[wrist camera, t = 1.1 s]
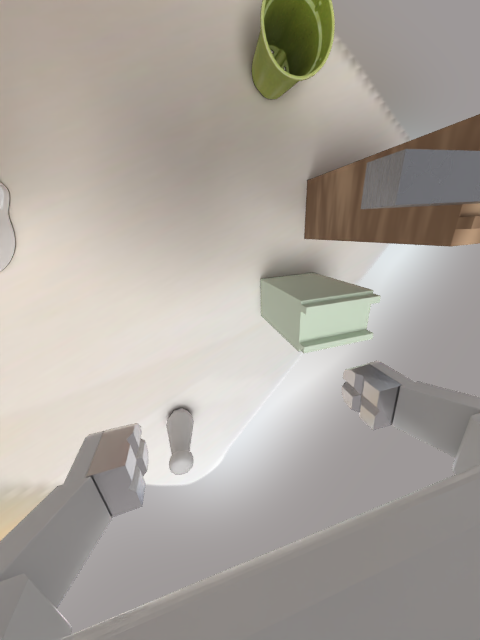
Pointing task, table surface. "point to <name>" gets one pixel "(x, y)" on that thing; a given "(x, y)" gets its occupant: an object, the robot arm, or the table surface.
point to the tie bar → (422, 179)
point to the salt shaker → (180, 441)
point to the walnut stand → (392, 223)
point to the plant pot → (291, 43)
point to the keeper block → (316, 310)
